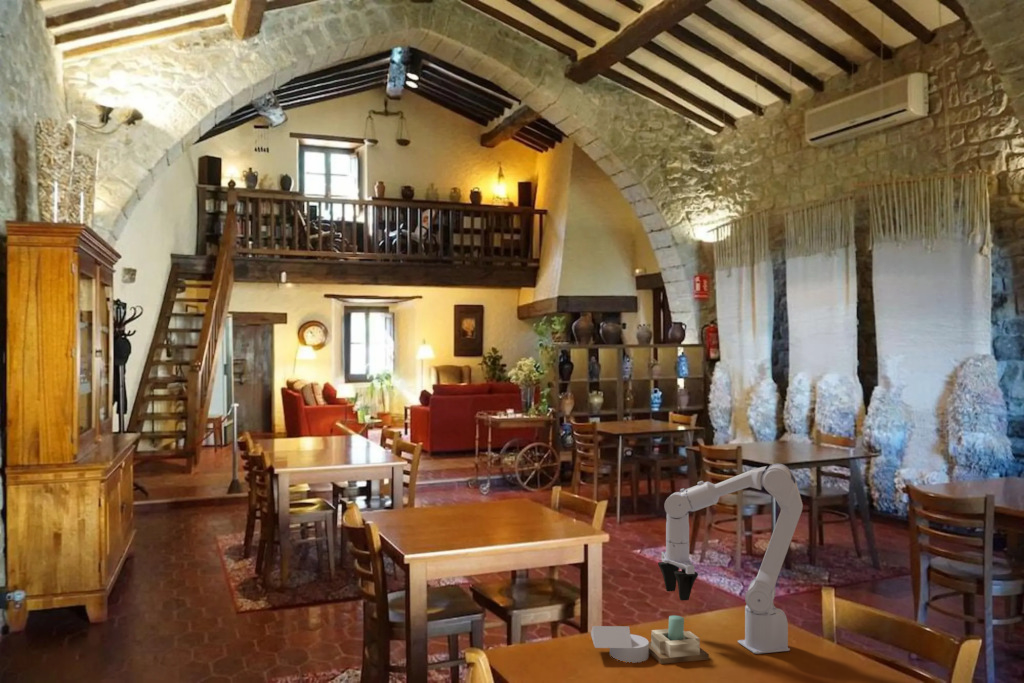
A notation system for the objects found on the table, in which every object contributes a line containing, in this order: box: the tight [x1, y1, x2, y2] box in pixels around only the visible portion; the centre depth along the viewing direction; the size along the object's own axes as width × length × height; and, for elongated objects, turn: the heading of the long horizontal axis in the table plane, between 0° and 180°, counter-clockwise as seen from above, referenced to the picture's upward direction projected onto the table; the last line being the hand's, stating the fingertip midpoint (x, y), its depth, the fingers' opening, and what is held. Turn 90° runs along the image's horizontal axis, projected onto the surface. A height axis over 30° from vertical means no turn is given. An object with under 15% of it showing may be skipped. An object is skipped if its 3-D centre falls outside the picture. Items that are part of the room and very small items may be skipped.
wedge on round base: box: [590, 625, 650, 664], centre depth 179 cm, size 9×7×13 cm
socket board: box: [648, 628, 710, 665], centre depth 180 cm, size 12×10×4 cm
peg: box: [667, 615, 685, 641], centre depth 180 cm, size 4×4×7 cm
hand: (677, 595), depth 192 cm, fingers open, 7 cm apart
